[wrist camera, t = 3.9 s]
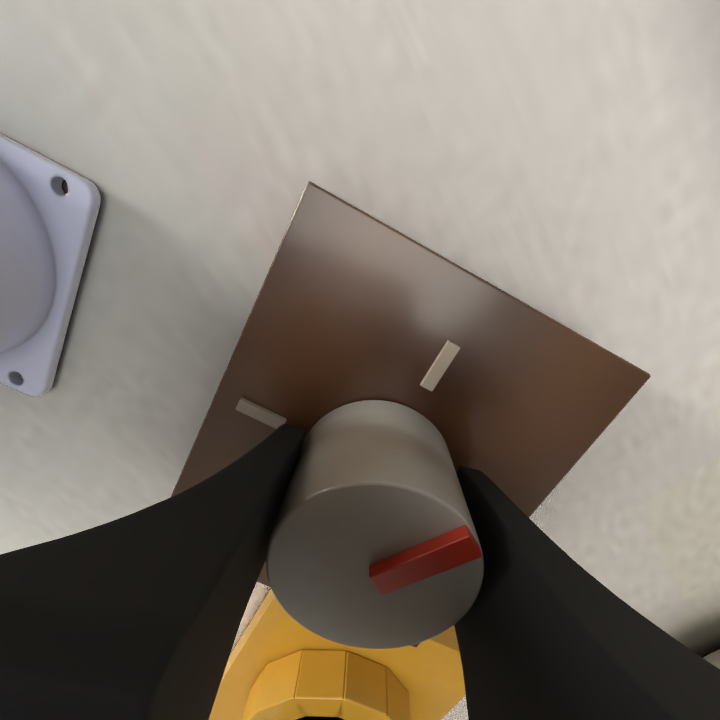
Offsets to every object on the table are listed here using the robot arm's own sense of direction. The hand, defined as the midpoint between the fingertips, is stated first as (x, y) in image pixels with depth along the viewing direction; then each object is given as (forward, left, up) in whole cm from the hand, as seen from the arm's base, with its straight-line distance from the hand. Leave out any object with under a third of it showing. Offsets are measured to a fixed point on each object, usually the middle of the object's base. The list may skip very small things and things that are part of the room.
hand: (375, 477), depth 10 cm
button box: (+5, -14, -3) cm, 15 cm away
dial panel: (0, 0, -3) cm, 3 cm away
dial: (0, 0, 0) cm, 0 cm away
